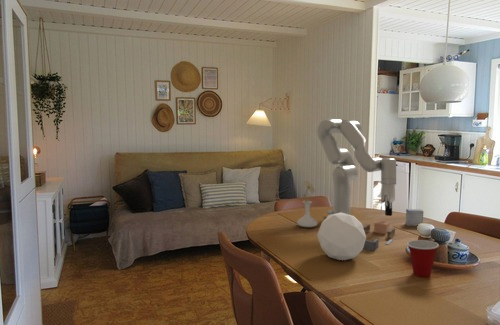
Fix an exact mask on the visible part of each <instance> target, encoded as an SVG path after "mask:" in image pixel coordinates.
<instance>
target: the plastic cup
mask: <svg viewBox="0 0 500 325" xmlns="http://www.w3.org/2000/svg"><path fill="white" fill-rule="evenodd" d="M406 245H407V247H408V250H409V254H410V261H411V265H412V266H411V267H412V272H413V274H414V275H415V276H416V277H421V278H429V277H430V276H431V274H432V270H433V268H434V263H435V258H436V254H437V252H438V251H437V250H438V248H439V246H440V245H439V243H438V242H435V241H432V240H422V239H416V240H415V239H414V240H410V241H407V242H406Z"/></svg>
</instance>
